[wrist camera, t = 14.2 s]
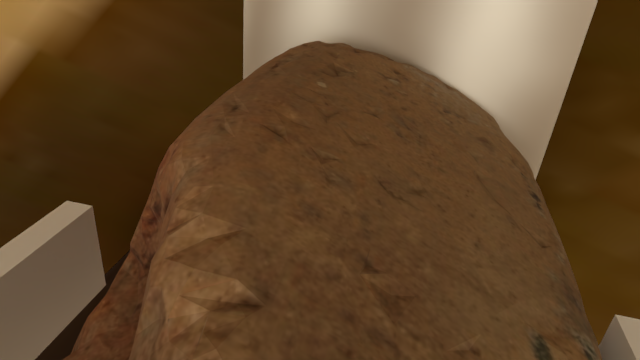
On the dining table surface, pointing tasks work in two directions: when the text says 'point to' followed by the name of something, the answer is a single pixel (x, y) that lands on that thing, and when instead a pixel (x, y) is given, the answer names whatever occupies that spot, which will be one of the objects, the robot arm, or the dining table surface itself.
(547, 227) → the brown river rock
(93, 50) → the dining table surface
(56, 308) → the robot arm
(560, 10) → the platform
